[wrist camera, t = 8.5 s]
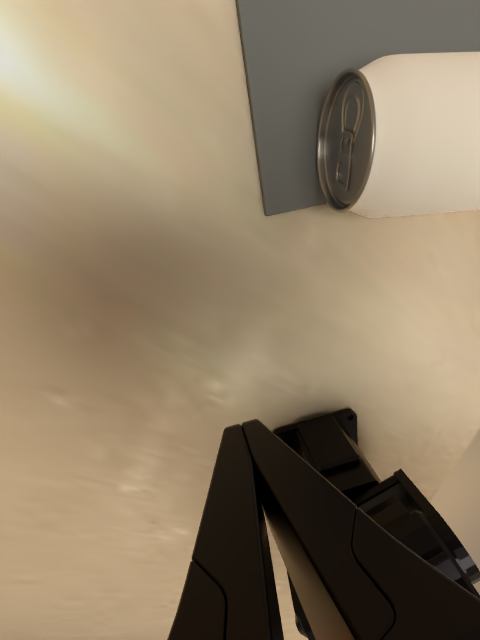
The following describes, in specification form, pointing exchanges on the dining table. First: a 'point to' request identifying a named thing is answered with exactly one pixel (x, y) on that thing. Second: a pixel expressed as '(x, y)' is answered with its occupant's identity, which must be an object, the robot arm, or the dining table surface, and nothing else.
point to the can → (403, 136)
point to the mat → (327, 71)
